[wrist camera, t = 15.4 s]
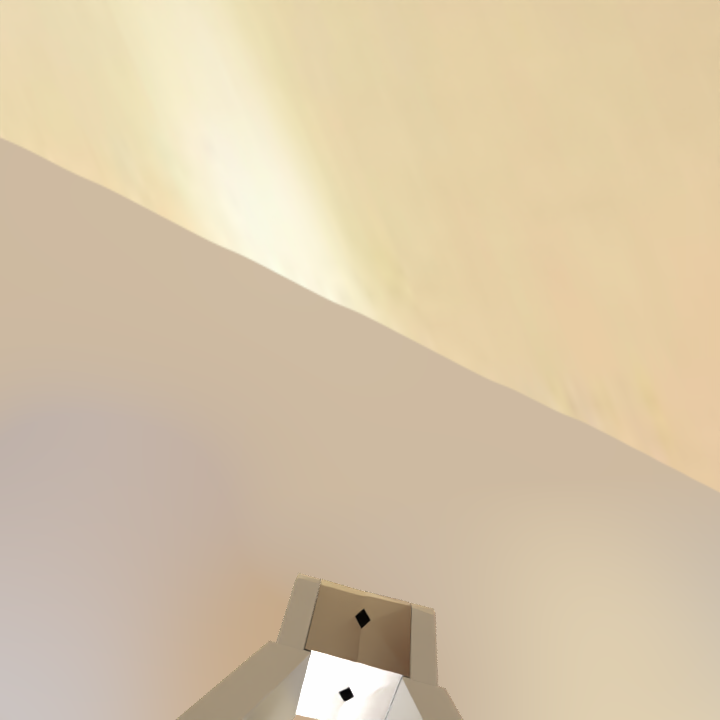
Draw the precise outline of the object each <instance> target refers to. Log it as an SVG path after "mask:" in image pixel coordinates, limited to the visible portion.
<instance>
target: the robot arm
mask: <svg viewBox="0 0 720 720" xmlns="http://www.w3.org/2000/svg"><path fill="white" fill-rule="evenodd" d="M320 581H321V584H320ZM319 586H320V587H319ZM318 590H319V591H318ZM317 594H318V595H317ZM316 598H317V599H316ZM436 644H437V643H436V617H435V612H434V609H432V608H429V607H425V606H421V605H417V604H413V603H409V602H407V601H403V600H399V599H395V598H391V597H387V596H382V595H379V594H375V593H371V592H367V591H365V592H364V591H361V590H357V589H354V588H350V587H347V586H344V585H340V584H337V583H333V582H330V581H326V580H323V579H322V580H321V579H319V578H315V577H311V576H308V575H304V574H301V573H299V574H298V576H297V578H296V580H295V583H294V587H293V590H292V593H291V597H290V600H289V603H288V606H287V609H286V613H285V616H284V620H283V622H282V625H281V628H280V632H279V635H278V638H277V642H272V641H268V642H267V643H266V644H265V645H264V646H262V647H261V648H260V649H259V650H258V651H257V652H255V653H254V654H253V655H252V656H251V657H249V658H248V659H247V660H246V661H245V662H243V663H242V664H241V665H240V666H239V667H238V668H236V669H235V670H234V671H233V672H232V673H231V674H229V675H228V676H227V677H226V678H225V679H223V680H222V681H221V682H220V683H219V684H217V685H216V686H215V687H214V688H213V689H212V690H210V691H209V692H208V693H207V694H206V695H204V696H203V697H202V698H201V699H200V700H199V701H197V702H196V703H195V704H194V705H193V706H191V707H190V708H189V709H188V710H187V711H186V712H184V713H183V714H182V715H181V716H180V717H178V718H177V719H176V720H293V719H294V717H295V715H296V714H299V715H303V716H308V717H312V718H316V719H320V720H463V718H462V716H461V715H460V713H459V711H458V709H457V708H456V706H455V704H454V702H453V701H452V699H451V697H450V696H449V694H448V692H447V690H446V689H445V688H442V687H439V686H438V668H437V645H436Z"/></svg>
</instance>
